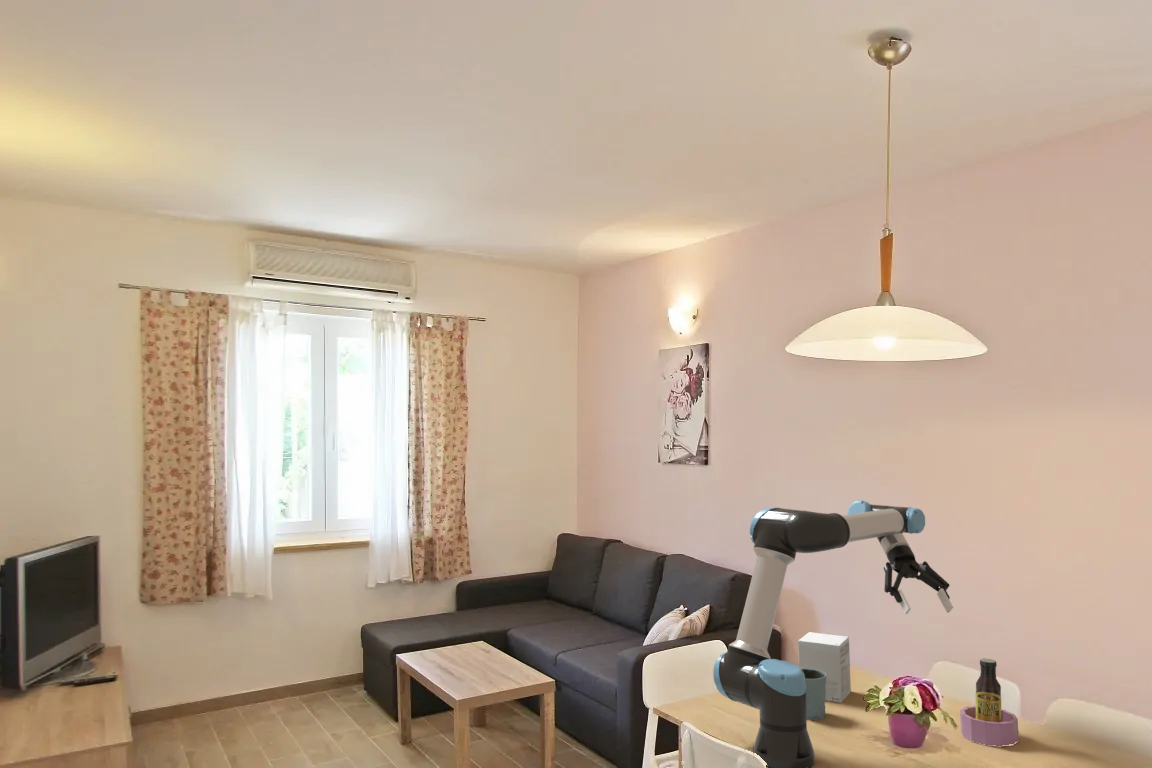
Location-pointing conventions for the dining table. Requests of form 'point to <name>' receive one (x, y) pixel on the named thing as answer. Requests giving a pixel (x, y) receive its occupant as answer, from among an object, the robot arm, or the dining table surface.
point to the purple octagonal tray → (989, 728)
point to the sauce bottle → (988, 693)
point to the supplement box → (828, 661)
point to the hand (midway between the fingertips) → (929, 610)
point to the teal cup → (815, 693)
